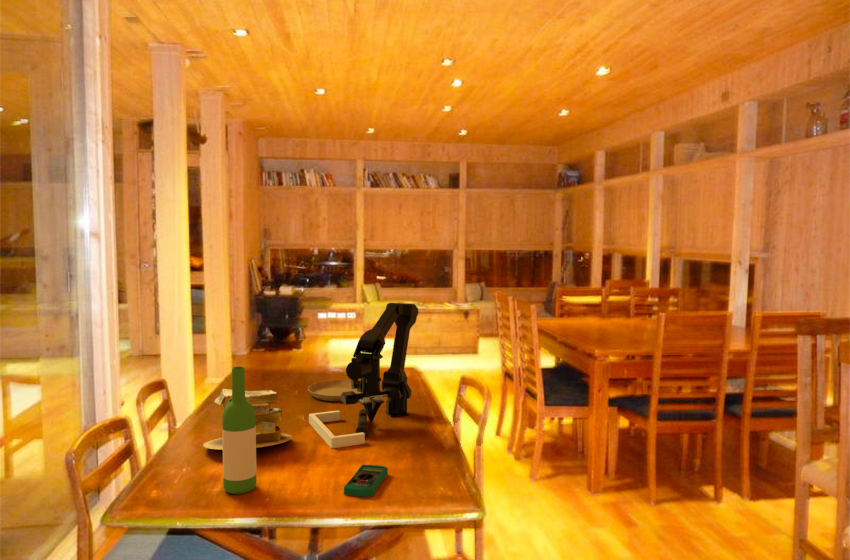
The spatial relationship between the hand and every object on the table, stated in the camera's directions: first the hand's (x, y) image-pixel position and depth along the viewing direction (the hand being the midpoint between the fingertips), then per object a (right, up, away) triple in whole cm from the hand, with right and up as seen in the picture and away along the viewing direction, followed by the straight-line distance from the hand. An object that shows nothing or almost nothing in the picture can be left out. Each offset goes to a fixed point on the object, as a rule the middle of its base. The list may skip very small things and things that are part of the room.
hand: (371, 421), depth 193 cm
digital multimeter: (+3, -6, -44) cm, 45 cm away
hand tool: (-3, -3, -1) cm, 4 cm away
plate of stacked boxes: (-34, -3, -18) cm, 39 cm away
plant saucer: (-16, 0, +42) cm, 45 cm away
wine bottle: (-28, -5, -48) cm, 55 cm away
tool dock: (-10, -2, -5) cm, 11 cm away
